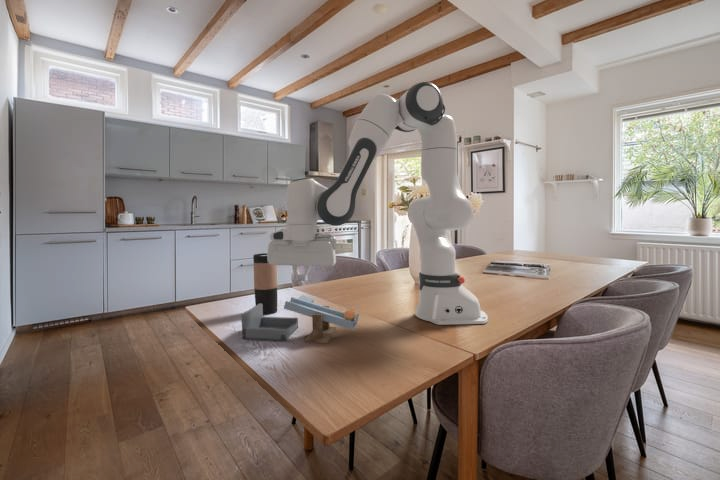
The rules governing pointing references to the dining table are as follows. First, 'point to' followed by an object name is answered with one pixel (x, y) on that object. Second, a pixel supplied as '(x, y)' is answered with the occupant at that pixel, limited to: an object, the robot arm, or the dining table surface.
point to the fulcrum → (320, 330)
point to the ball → (349, 315)
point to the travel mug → (265, 284)
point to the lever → (319, 311)
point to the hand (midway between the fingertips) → (301, 280)
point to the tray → (266, 326)
